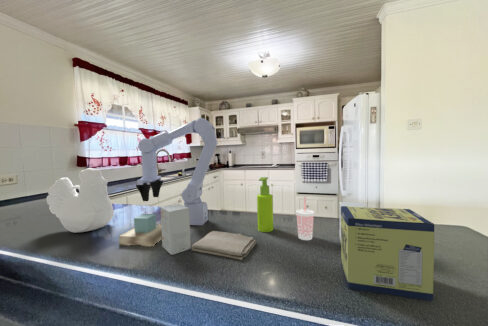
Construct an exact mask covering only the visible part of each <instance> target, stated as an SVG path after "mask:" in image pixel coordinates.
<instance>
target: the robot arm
mask: <svg viewBox="0 0 488 326" xmlns="http://www.w3.org/2000/svg"><path fill="white" fill-rule="evenodd" d="M188 134H198V135H199V136H200V138H201V139H202V142H203V143H204V145H203V148H202V151H201V153H200V156H199V158H198V161H197V163H196V166H195V168H194V171H193V174H192V177H191V179H190V180H189V182H188V183H187V186H186V187H185V188H184V189H183V191H182V192H181V198H182V200H183V206H185V207H188V208H189V220H190V226H204V225H205V223H207V221H208V220H209V217H208V215H209V214H208V208H209V207H208V203H207V202H206V201H202V198H201V196H202V195H203V194H202V193H203V185H204V180H205V177H206V175H207V173H208V169H209V168H210V164H211V162H212V159H213V156H214V154H215V151H216V148H217V147H218V139H217V134H216V128H215V127H214V125H213V123H211V122H210V121H208V120H207V119H206V118H204V117H199V118H197V119H196V120H195V119H194V120H191V121H190V122H189V121H188V122H187V123H186V124H184V125H182V126H180V127H178V128H176V129H173V130H172V131H170V132H168V131H166V130H165V131H162V130H160V131H159V133H158V134H156V135H153V136H152V135H150V136H149V138H143V139H141V140H140V141H139V142H138V150H139V151H140V152H141V168H142V169H141V170H142V171H141V173H142V177H140V179H136V183H137V184H135V187H136V189H137V190H138V191H139V194H140V197H141V199H142V202H149V201H150V199H149V198H150V190H151V192H152V196H153V197H152V198H159V197H160V191H161V187H162V185H163V183H164V181H163V180H162V176H161V175H158V167H157V152H158V151H159V150H160V149H163V148H165V147H166V146H169V145H171V144H172V143H173V141H174V140H175V139H178V138H181V137H184V136H185V135H188Z"/></svg>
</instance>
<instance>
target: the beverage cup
mask: <svg viewBox="0 0 488 326" xmlns="http://www.w3.org/2000/svg"><path fill="white" fill-rule="evenodd" d="M306 201H307V199H306V196H304V197H303V206H304V207H303V208H304V209H303V208H301V209H300V208H299V209H296V211H295V215H296V222H297V223H296V224H297V226H296V227H297V236H298V237H297V238H298V239H300V240H301V241H310V240H313V231H314V216H315V211H314V210H311V209H306V208H307V207H306V204H307V203H306Z"/></svg>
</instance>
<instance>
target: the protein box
mask: <svg viewBox="0 0 488 326" xmlns="http://www.w3.org/2000/svg"><path fill="white" fill-rule="evenodd" d="M340 246H341V249H340V250H341V251H340V255H341V256H340V260H341V261H340V264H341V267H342V268H341V269H342V273H343V275H344V279H345V283H346V287H347V289H348V290H357V291H362V292H370V293H377V294H382V295H388V296H389V295H390V296H395V297H403V298H408V299H414V300H415V299H417V300H423V301H429V302H433V301H434V269H435V268H434V267H435V223H433V222H431V221H430V220H428V219H426V218H425V217H424V216H421V215H420V214H419V213H416V212H415V211H413V210H411V209H410V208H391V207H389V208H388V207H371V206H370V207H368V206H366V207H349V206H341V241H340Z"/></svg>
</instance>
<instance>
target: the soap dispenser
mask: <svg viewBox="0 0 488 326" xmlns="http://www.w3.org/2000/svg"><path fill="white" fill-rule="evenodd" d="M268 179H269V177H267V176H263V177H259V179H258V181H259V182H262V183H261V185H260V186H259V188H260V189H259V190H260V193H259V194H257V195H256V202H257V203H256V209H257V213H256V214H257V215H256V216H257V231H258V232H260V233H261V232H262V233H270V232H272V231H274V203H273V202H274V201H273V199H274V196H273V194H271V193H270V185H268Z"/></svg>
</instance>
